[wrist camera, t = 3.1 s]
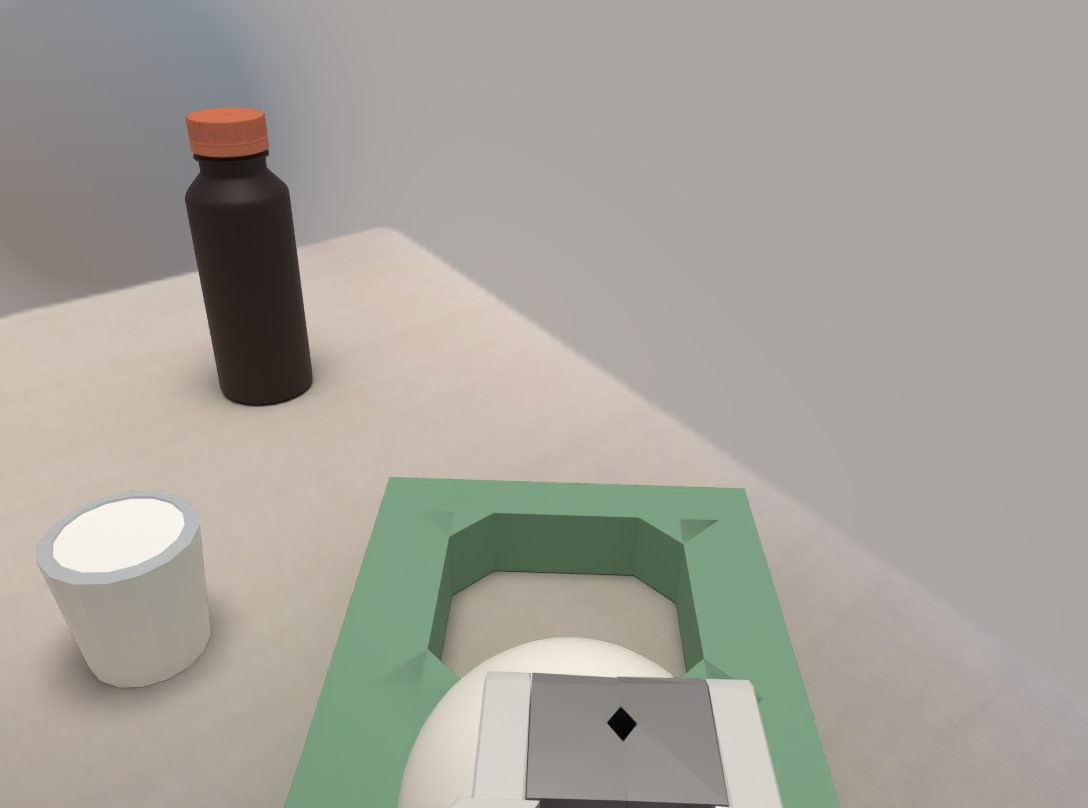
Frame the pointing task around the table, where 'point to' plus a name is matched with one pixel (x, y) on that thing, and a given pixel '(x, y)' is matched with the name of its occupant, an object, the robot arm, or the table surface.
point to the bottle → (247, 259)
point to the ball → (453, 725)
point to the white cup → (131, 585)
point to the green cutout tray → (558, 547)
